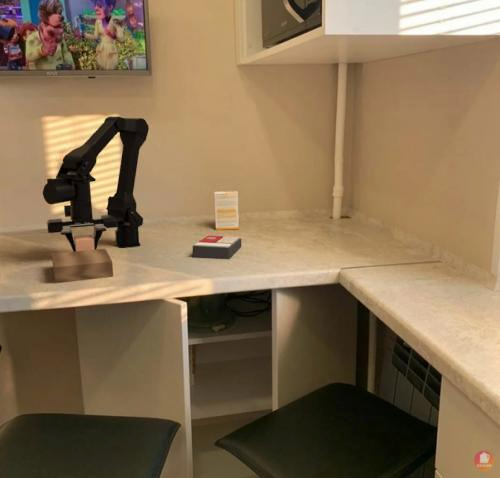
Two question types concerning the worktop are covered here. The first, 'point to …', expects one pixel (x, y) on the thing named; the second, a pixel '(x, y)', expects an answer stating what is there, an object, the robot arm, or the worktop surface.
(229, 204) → the supplement box
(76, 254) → the walnut base
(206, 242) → the red white black box
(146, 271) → the worktop surface
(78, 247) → the terracotta block
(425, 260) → the worktop surface
